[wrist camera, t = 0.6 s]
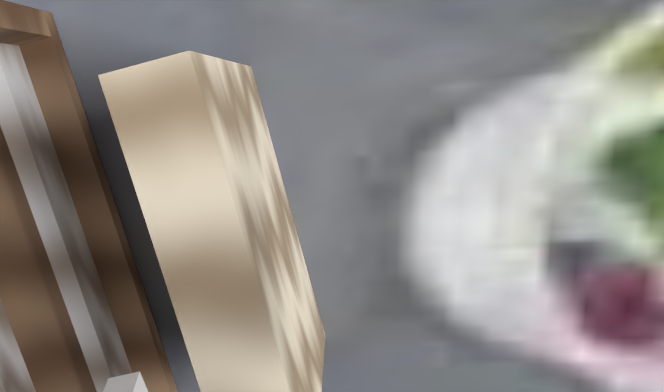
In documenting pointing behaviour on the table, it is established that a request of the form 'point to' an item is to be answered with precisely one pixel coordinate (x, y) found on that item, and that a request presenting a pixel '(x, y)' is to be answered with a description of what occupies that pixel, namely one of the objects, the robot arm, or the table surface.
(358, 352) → the table surface
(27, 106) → the wooden rack
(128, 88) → the door panel
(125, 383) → the robot arm
